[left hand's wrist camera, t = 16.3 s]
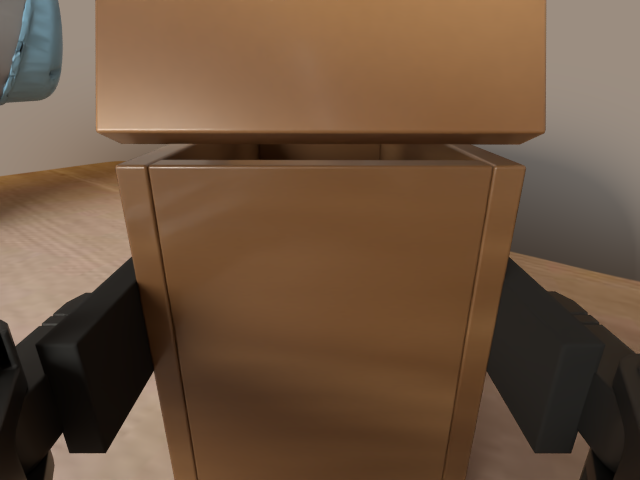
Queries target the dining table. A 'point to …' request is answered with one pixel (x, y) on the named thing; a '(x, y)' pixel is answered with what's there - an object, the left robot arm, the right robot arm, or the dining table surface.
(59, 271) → the dining table surface
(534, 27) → the lid
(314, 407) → the chest
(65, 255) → the dining table surface
